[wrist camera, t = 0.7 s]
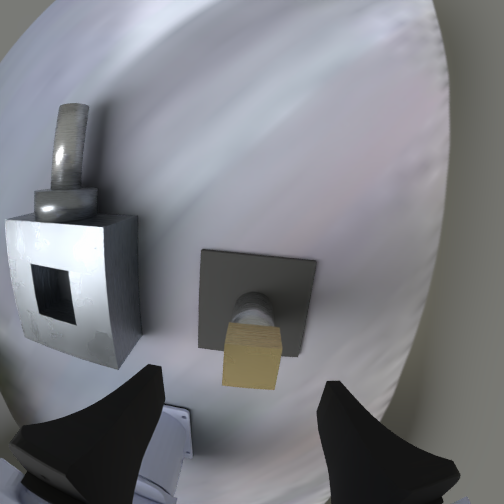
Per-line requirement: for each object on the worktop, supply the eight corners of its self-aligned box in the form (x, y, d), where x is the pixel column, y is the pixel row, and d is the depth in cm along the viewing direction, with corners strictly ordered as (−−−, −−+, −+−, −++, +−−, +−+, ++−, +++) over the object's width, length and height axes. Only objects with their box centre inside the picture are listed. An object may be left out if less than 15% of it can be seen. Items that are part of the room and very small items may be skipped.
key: (270, 327, 20) (274, 389, 14) (232, 323, 20) (222, 385, 13) (274, 293, 20) (282, 348, 13) (235, 289, 20) (224, 343, 13)
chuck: (142, 335, 21) (118, 370, 16) (54, 313, 21) (24, 337, 16) (147, 107, 17) (115, 88, 12) (50, 120, 17) (11, 113, 12)
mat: (297, 354, 21) (297, 357, 21) (199, 345, 21) (198, 347, 21) (315, 260, 19) (316, 262, 19) (202, 249, 19) (201, 250, 19)
